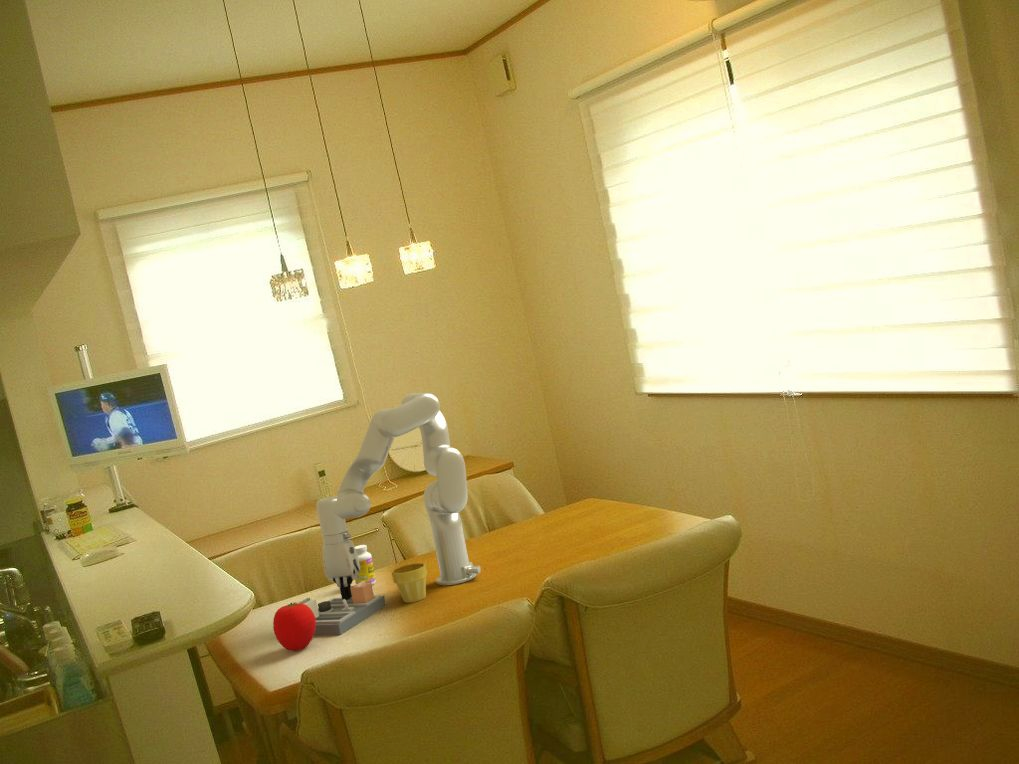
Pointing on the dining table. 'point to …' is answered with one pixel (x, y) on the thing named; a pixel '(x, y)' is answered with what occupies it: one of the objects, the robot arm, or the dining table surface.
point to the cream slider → (311, 606)
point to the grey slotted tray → (346, 615)
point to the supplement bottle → (365, 565)
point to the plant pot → (411, 581)
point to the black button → (324, 606)
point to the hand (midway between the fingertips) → (347, 598)
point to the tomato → (294, 626)
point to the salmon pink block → (362, 592)
